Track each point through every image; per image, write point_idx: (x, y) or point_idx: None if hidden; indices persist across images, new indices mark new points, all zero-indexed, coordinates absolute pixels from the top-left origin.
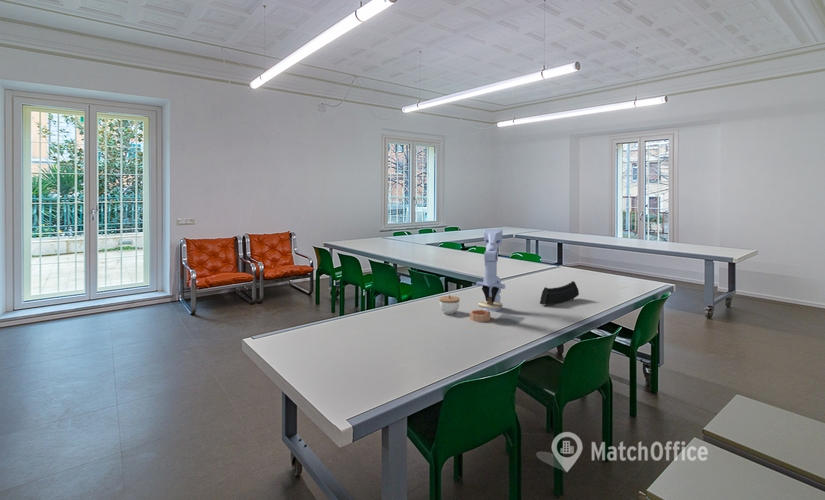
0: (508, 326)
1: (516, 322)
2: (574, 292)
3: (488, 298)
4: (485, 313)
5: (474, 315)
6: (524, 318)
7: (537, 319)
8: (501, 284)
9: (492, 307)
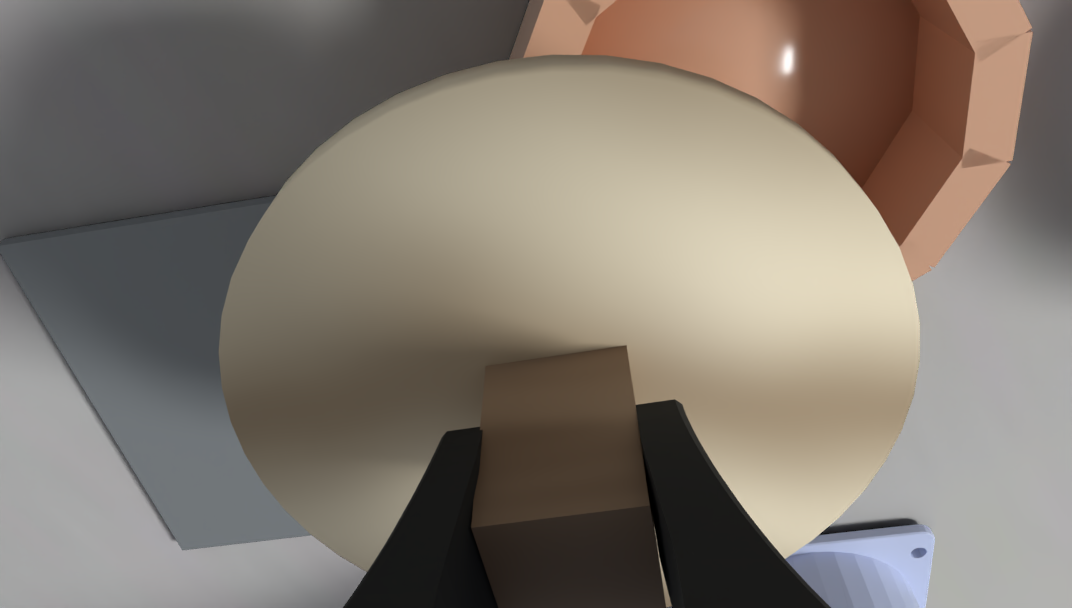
0: (13, 52)
1: (75, 308)
2: None
3: (601, 486)
4: None
5: None
6: (169, 527)
7: (59, 591)
8: None
9: (302, 173)
